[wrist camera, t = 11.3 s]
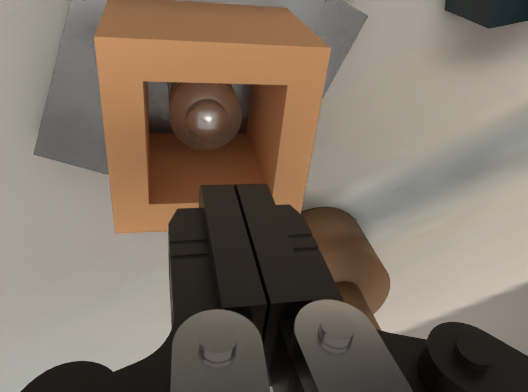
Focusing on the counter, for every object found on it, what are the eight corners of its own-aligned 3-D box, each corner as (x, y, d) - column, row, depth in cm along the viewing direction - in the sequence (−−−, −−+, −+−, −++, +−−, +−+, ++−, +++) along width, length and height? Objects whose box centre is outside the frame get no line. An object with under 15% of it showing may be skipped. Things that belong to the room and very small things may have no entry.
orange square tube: (287, 7, 16) (331, 47, 12) (268, 155, 20) (298, 224, 16) (109, -4, 15) (94, 36, 11) (123, 157, 18) (115, 233, 14)
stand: (378, 221, 25) (442, 315, 20) (329, 288, 28) (374, 389, 22) (295, 196, 23) (341, 295, 18) (251, 272, 26) (278, 379, 20)
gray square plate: (353, 7, 18) (410, 41, 14) (252, 197, 23) (273, 264, 19) (106, -126, 14) (88, -130, 10) (41, 137, 19) (10, 205, 15)
